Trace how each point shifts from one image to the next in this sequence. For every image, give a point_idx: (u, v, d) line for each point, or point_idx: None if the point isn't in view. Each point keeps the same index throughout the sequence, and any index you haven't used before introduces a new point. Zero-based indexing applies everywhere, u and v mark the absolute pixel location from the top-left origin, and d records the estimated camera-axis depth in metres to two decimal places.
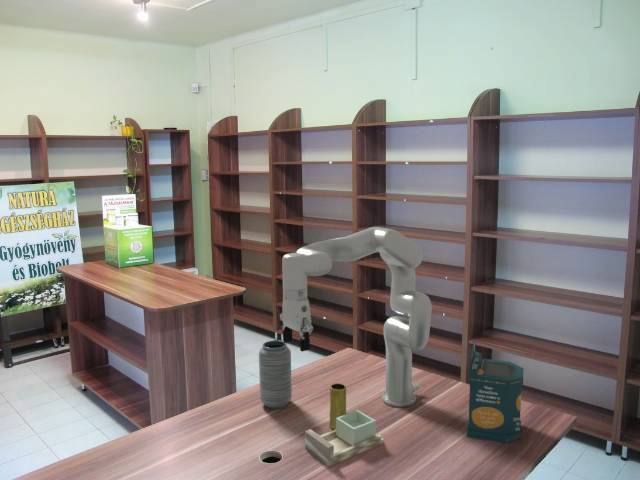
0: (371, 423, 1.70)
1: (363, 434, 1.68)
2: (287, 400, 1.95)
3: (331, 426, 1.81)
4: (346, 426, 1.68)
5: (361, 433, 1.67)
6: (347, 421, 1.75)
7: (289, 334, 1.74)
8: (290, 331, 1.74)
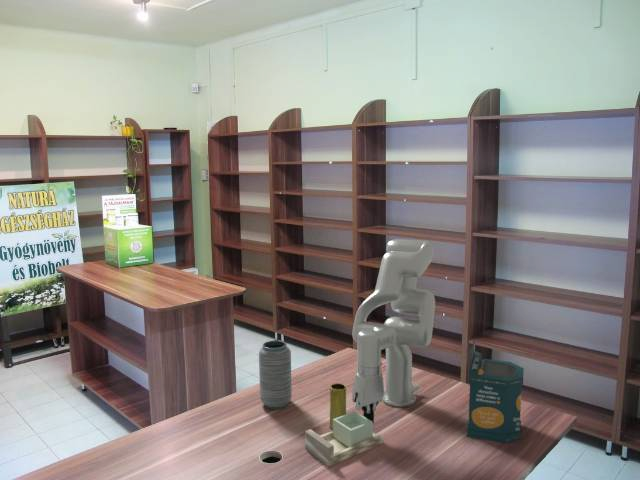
0: (368, 424, 1.69)
1: (360, 435, 1.67)
2: (287, 400, 1.95)
3: (331, 426, 1.81)
4: (343, 427, 1.68)
5: (358, 434, 1.67)
6: (344, 422, 1.74)
7: None
8: None
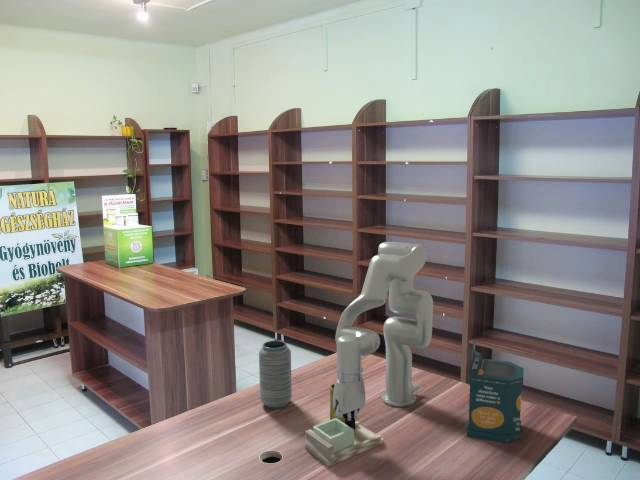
0: (349, 432, 1.64)
1: (340, 443, 1.63)
2: (287, 400, 1.95)
3: None
4: (323, 435, 1.63)
5: (338, 442, 1.62)
6: (325, 430, 1.69)
7: None
8: None
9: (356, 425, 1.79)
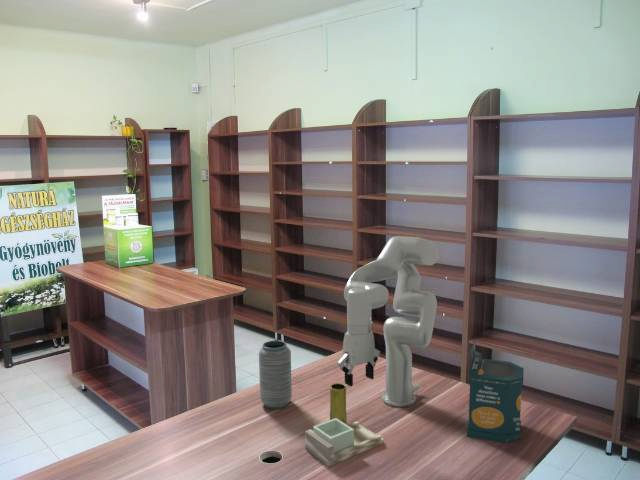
0: (349, 432, 1.64)
1: (340, 443, 1.63)
2: (287, 400, 1.95)
3: None
4: (323, 435, 1.63)
5: (338, 442, 1.62)
6: (325, 430, 1.69)
7: None
8: None
9: (356, 425, 1.79)
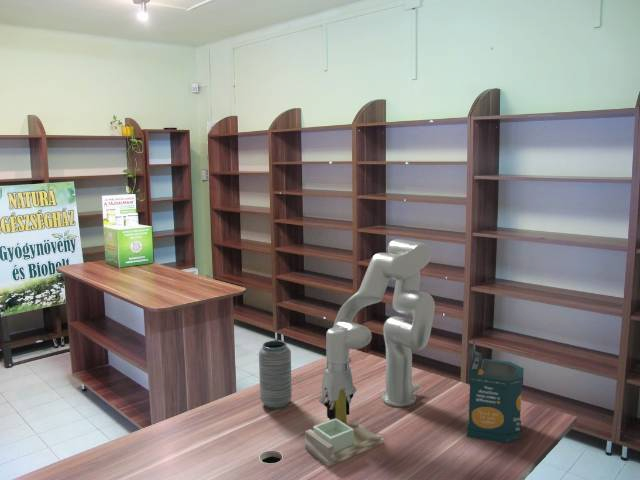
0: (349, 432, 1.64)
1: (340, 443, 1.63)
2: (287, 400, 1.95)
3: None
4: (323, 435, 1.63)
5: (338, 442, 1.62)
6: (325, 430, 1.69)
7: None
8: None
9: (356, 425, 1.79)
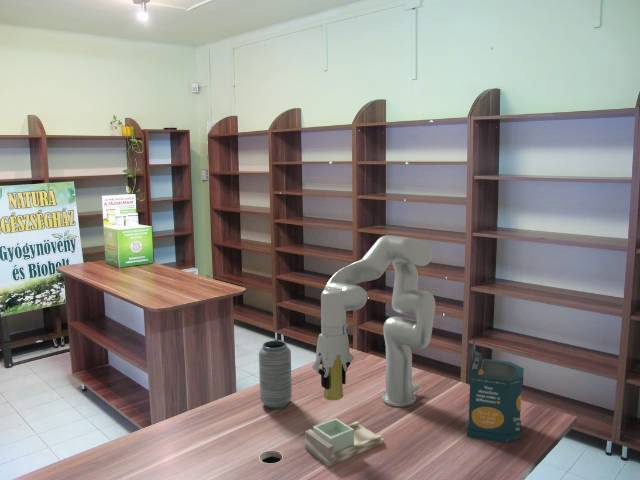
0: (349, 432, 1.64)
1: (340, 443, 1.63)
2: (287, 400, 1.95)
3: (325, 396, 1.67)
4: (323, 435, 1.63)
5: (338, 442, 1.62)
6: (325, 430, 1.69)
7: None
8: None
9: (356, 425, 1.79)
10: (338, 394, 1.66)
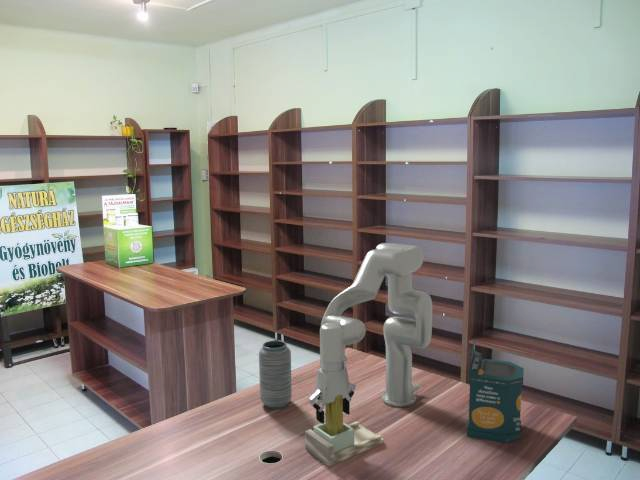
0: (349, 432, 1.64)
1: (341, 443, 1.63)
2: (287, 400, 1.95)
3: None
4: (323, 435, 1.63)
5: (339, 442, 1.62)
6: None
7: None
8: None
9: (356, 425, 1.79)
10: None
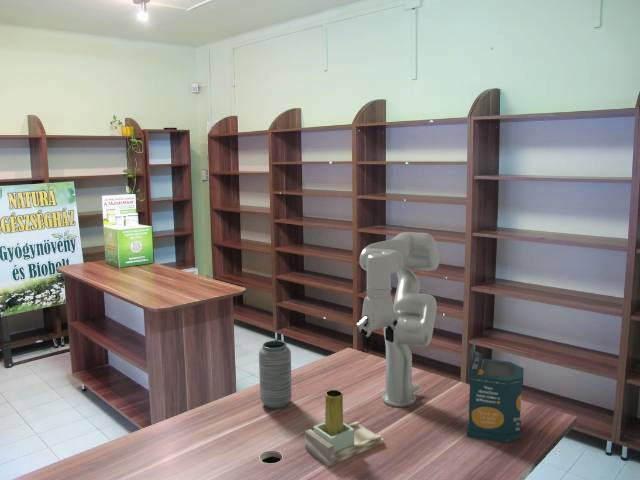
0: (349, 432, 1.64)
1: (341, 443, 1.63)
2: (287, 400, 1.95)
3: None
4: (323, 435, 1.63)
5: (339, 442, 1.62)
6: None
7: None
8: None
9: (356, 425, 1.79)
10: None
